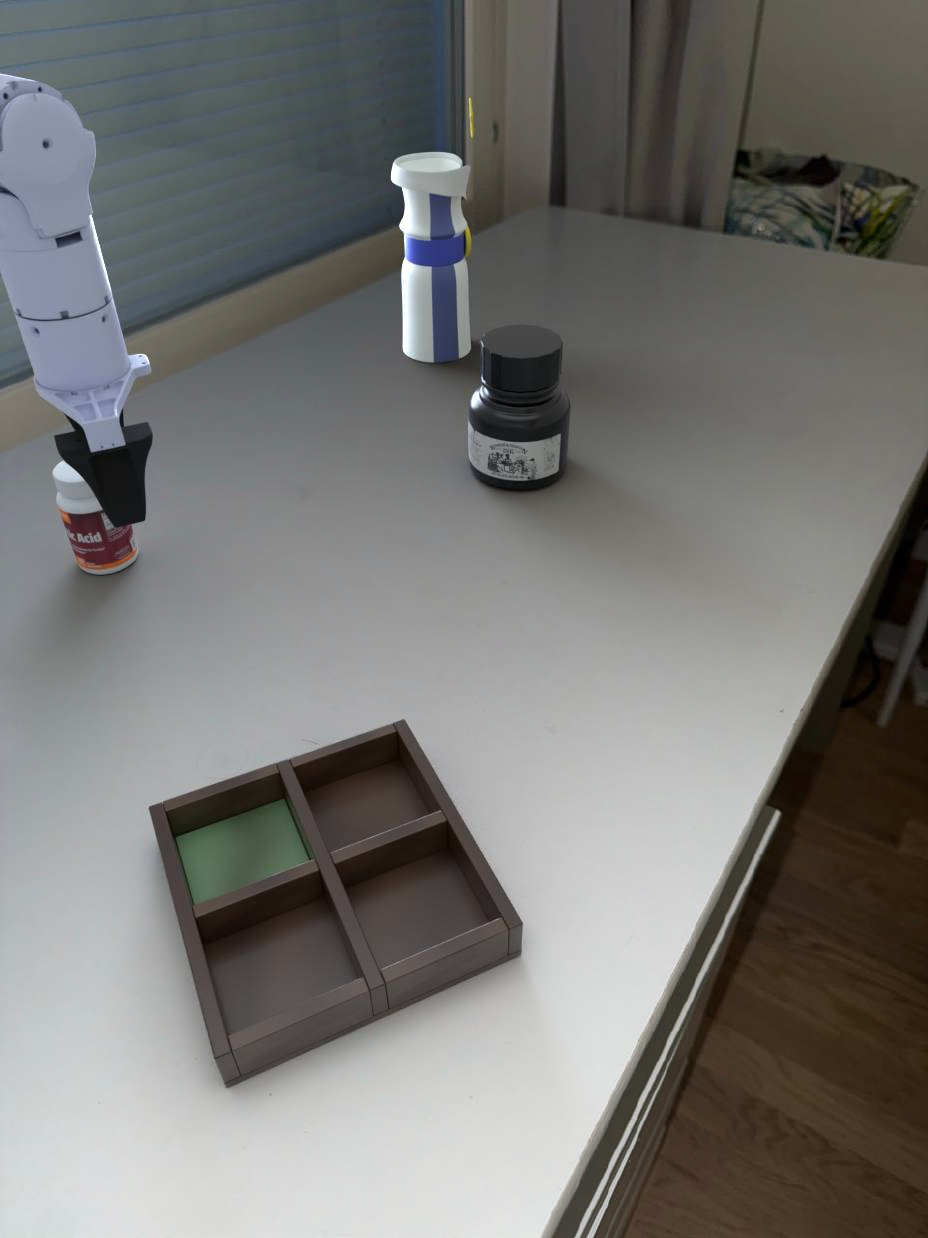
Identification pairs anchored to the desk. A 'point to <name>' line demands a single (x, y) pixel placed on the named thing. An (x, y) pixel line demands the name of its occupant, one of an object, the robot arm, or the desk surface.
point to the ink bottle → (519, 409)
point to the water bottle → (434, 255)
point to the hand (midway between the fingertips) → (120, 493)
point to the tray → (327, 896)
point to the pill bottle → (91, 526)
